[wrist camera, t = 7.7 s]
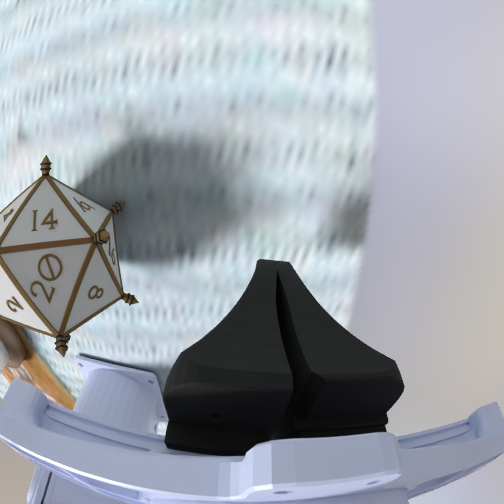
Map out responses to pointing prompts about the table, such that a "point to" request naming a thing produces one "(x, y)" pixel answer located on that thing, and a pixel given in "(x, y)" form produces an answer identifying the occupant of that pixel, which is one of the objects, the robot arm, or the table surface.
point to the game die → (57, 259)
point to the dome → (3, 356)
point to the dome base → (12, 344)
